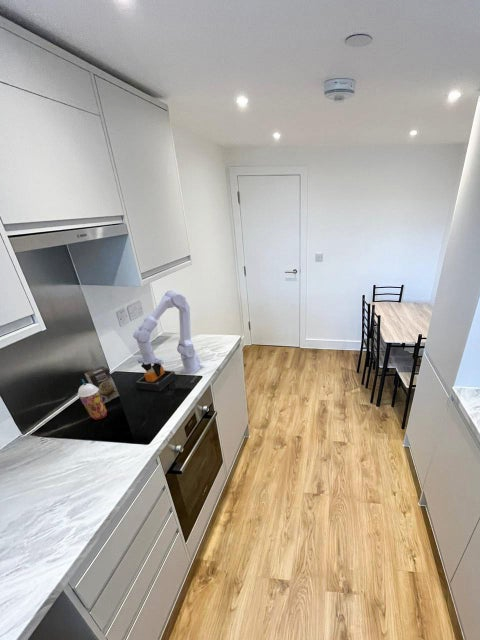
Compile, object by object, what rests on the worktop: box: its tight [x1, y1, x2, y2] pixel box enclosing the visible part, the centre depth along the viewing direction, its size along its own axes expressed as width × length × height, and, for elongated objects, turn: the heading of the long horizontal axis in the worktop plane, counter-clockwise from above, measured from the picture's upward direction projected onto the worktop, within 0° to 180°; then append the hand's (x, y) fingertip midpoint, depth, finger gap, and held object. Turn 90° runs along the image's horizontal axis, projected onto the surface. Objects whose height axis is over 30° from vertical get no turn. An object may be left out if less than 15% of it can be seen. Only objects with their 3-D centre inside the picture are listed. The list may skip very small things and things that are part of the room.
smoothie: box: [77, 378, 108, 421], centre depth 146 cm, size 8×8×20 cm
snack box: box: [143, 365, 165, 382], centre depth 172 cm, size 10×4×4 cm, turn 164°
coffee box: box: [84, 365, 120, 405], centre depth 160 cm, size 9×6×16 cm
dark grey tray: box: [135, 369, 177, 392], centre depth 174 cm, size 15×14×4 cm
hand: (155, 375), depth 173 cm, fingers closed on snack box, 4 cm apart
